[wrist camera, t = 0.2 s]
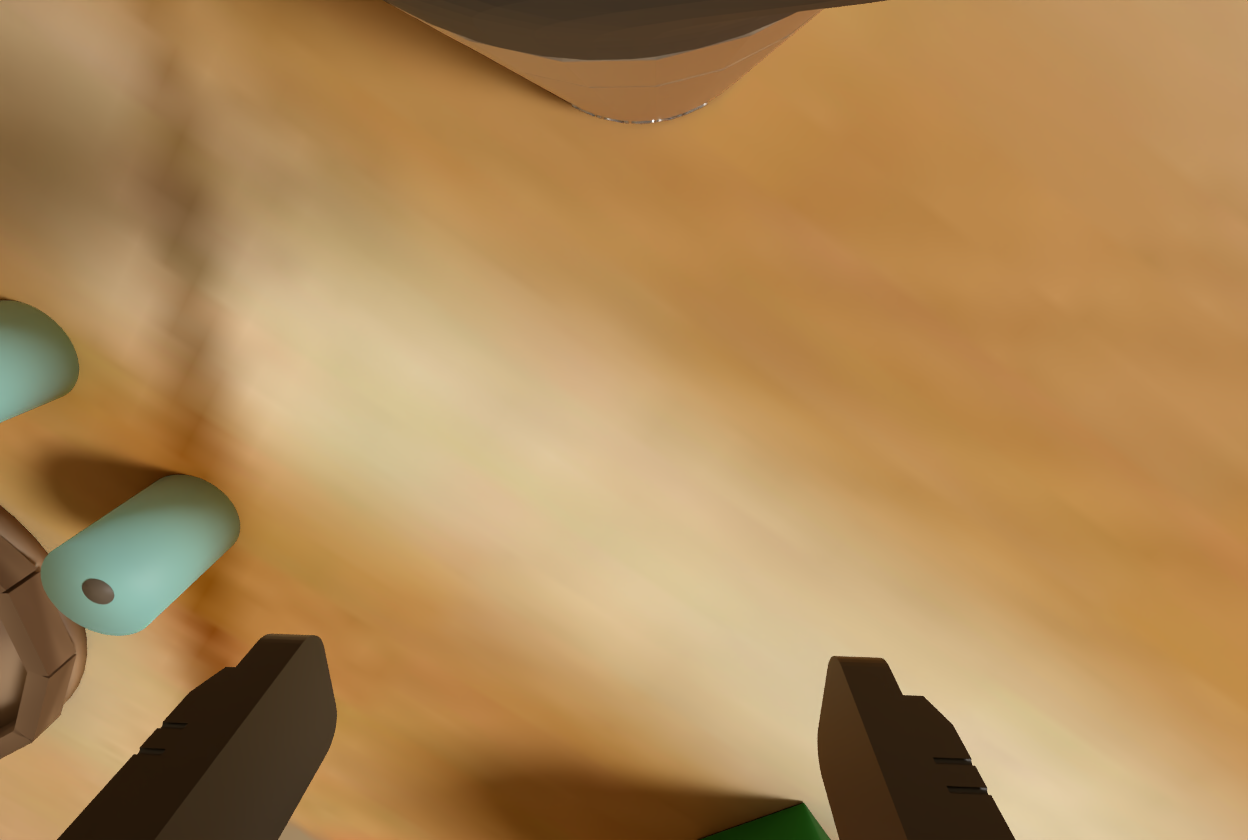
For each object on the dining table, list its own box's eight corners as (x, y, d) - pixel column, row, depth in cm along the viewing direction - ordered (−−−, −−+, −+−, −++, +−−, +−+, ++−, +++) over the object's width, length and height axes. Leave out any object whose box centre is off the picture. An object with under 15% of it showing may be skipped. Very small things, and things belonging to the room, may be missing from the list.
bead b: (132, 474, 29) (21, 543, 24) (226, 474, 29) (134, 545, 24) (161, 554, 31) (63, 635, 26) (249, 555, 30) (169, 637, 25)
